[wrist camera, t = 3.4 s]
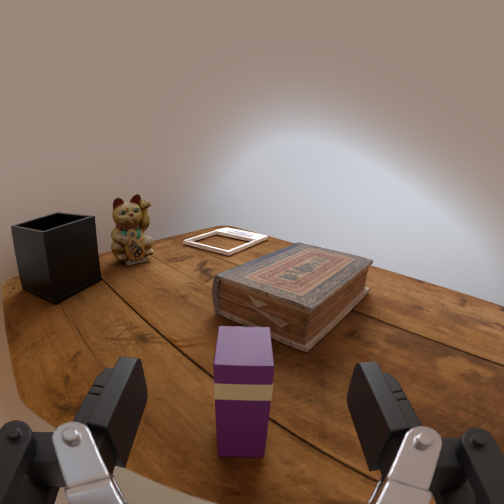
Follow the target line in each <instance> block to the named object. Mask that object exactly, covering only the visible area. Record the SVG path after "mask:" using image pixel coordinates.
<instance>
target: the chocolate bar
mask: <svg viewBox="0 0 504 504" xmlns="http://www.w3.org/2000/svg"><path fill="white" fill-rule="evenodd" d="M213 366H214V383H213V386H214V399H215V410H216V428H217V444H218V456H229V457H264V453H265V445H266V437H267V429H268V420H269V411H270V402H271V400H272V391H273V374H274V360H273V351H272V343H271V334H270V327H238V326H219V329H218V336H217V343H216V350H215V357H214V364H213Z"/></svg>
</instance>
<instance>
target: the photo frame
mask: <svg viewBox="0 0 504 504" xmlns="http://www.w3.org/2000/svg"><path fill="white" fill-rule="evenodd" d="M215 234H218V235H222V236H227V237H231V238H236V239H241V240H245V241H250V242H248V243H246V244H244V245H241V246H239V247H236V248H234V249H231V250H229V251H228V250H224V249H220V248H216V247H212V246H208V245H204V244H200V243H196V242H194V241H197V240H200V239H203V238H206V237H209V236H212V235H215ZM267 239H268V236H267V235H262V234H257V233H252V232H247V231H242V230H237V229H232V228H227V227H225V228H222V229H218V230H215V231H212V232H209V233H205V234H202V235H199V236H196V237H193V238H190V239H186V240H183V242H184V244H186V245H190V246H194V247H197V248H201V249H205V250H209V251H213V252H216V253H220V254H224V255H228V256H229V255H232V254H234V253H236V252H239V251H241V250H243V249H246V248H248V247H250V246H253V245H255V244H257V243H260V242H262V241H264V240H267Z"/></svg>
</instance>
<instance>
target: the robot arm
mask: <svg viewBox="0 0 504 504" xmlns="http://www.w3.org/2000/svg"><path fill="white" fill-rule="evenodd" d="M146 403H147V385H146V381H145V376H144V371H143V367H142V362H141V360H140V359H139V358H130V357H122V356H121V357H120V358H119V359H118V361H117V363H116V365H115V367H114V368H106V369H105V370H104V371H103V372H101V373H100V374H99V375H98V376H97V378H96V380H95V381H94V383H93V386H92V387H91V388H90V390H89V394H87V396H86V397H85V399H84V401H83V403H82V405H81V407H80V408H79V410H78V412H77V414H76V416H75V418H74V420H73V421H72V422H67V423H64V424H62V425H60V426H59V427H57V428H56V430H55V431H54V432H32V430H31V429H30V427H29V425H27V424H26V423H25V422H23V421H18V420H15V421H10V422H8V423H6V424H5V425H3V426H2V428H1V429H0V504H54V503H55V500H56V497H57V494H58V491H59V488H60V487H67V488H65V489H64V492H65V496H66V499H67V501H68V504H128V502H127V501H126V499H125V497H124V495H123V493H122V491H121V490H120V488H119V486H118V484H117V482H116V480H115V478H114V476H113V474H112V473H113V470H114V467H115V466H119V467H123V468H125V467H126V463H127V460H128V457H129V454H130V451H131V448H132V445H133V442H134V438H135V435H136V432H137V429H138V426H139V423H140V420H141V417H142V415H143V412H144V409H145V406H146ZM347 405H348V409H349V411H350V414H351V417H352V420H353V423H354V426H355V429H356V432H357V435H358V438H359V441H360V444H361V447H362V450H363V453H364V456H365V459H366V462H367V465H368V468H369V471H373V470H379V469H380V471H381V474H382V475H381V477H380V479H379V481H378V482H377V484H376V486H375V488H374V490H373V492H372V494H371V496H370V498H369V500H368V501H367V503H366V504H429V503H430V500H431V497H432V493H433V496H434V499H435V502H436V504H504V456H503V454H502V452H501V450H500V449H499V447H498V445H497V443H496V442H495V440H494V438H493V437H492V435H491V434H490V433H489V432H488V431H486V430H485V429H482V428H477V427H476V428H470V429H468V430H467V431H466V432H465V433H464V434H463V436H462V437H461V438H441V437H440V435H439V434H438V433H437V432H436V431H435V430H433V429H431V428H428V427H424V426H422V424H421V422H420V420H419V418H418V417H417V415H416V413H415V411H414V409H413V407H412V406H411V404H410V402H409V400H407V397H406V395H405V393H404V392H403V389H402V388H401V386H400V384H399V382H398V381H397V380H396V379H395V378H394V377H392V376H391V375H390V374H389V373H385V374H383V373H382V371H381V369H380V367H379V365H378V363H377V362H365V363H357V364H356V365H355V368H354V371H353V375H352V379H351V382H350V386H349V389H348V393H347ZM468 480H469V482H470V484H469V482H468ZM470 485H471V486H470ZM471 487H472V488H471ZM472 489H473V491H472ZM473 492H474V493H473ZM474 494H475V496H474Z"/></svg>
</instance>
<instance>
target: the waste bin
mask: <svg viewBox="0 0 504 504" xmlns="http://www.w3.org/2000/svg"><path fill="white" fill-rule="evenodd" d="M11 229H12V236H13V243H14V249H15V255H16V260H17V265H18V271H19V275H20V280H21V285H22V289H23V290H25V291H27V292H29V293H31V294H34V295H36V296H38V297H40V298H42V299H44V300H46V301H49V302H51V303H53V304H55V305H57V304H58V303H60V302H62V301H64V300H66V299H67V298H69V297H71V296H73V295H75V294H77V293H78V292H80V291H82V290H84V289H86V288H88V287H90V286H91V285H93V284H95V283H97V282H99V281H101V280H102V278H101V271H100V263H99V255H98V246H97V237H96V225H95V216H90V215H80V214H71V213H60V212H57V213H53V214H50V215H46V216H43V217H39V218H36V219H33V220H29V221H26V222H23V223H20V224H16V225H13V226H11Z"/></svg>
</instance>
